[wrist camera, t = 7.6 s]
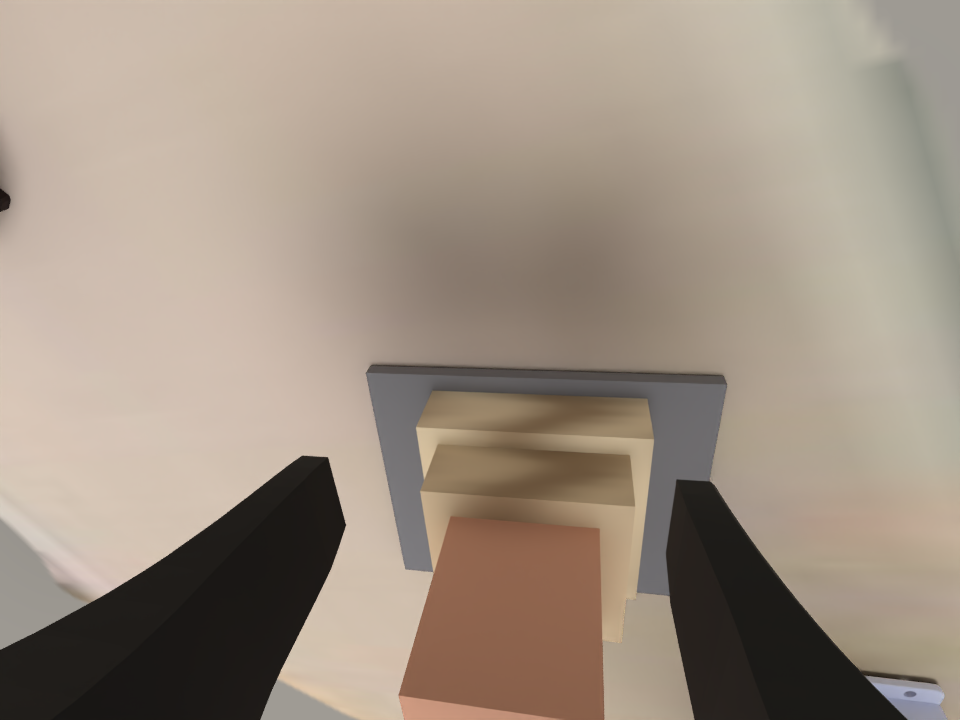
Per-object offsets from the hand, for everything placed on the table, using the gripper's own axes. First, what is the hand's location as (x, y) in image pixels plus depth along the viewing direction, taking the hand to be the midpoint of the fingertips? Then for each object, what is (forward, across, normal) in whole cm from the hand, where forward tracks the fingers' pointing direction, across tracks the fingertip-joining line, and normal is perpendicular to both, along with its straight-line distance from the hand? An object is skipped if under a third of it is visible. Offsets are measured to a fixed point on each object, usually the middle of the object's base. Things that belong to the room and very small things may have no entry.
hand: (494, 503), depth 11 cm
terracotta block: (+5, 0, +8) cm, 9 cm away
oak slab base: (+10, 0, +8) cm, 13 cm away
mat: (+10, 0, +9) cm, 14 cm away
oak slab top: (+7, 0, +8) cm, 11 cm away
